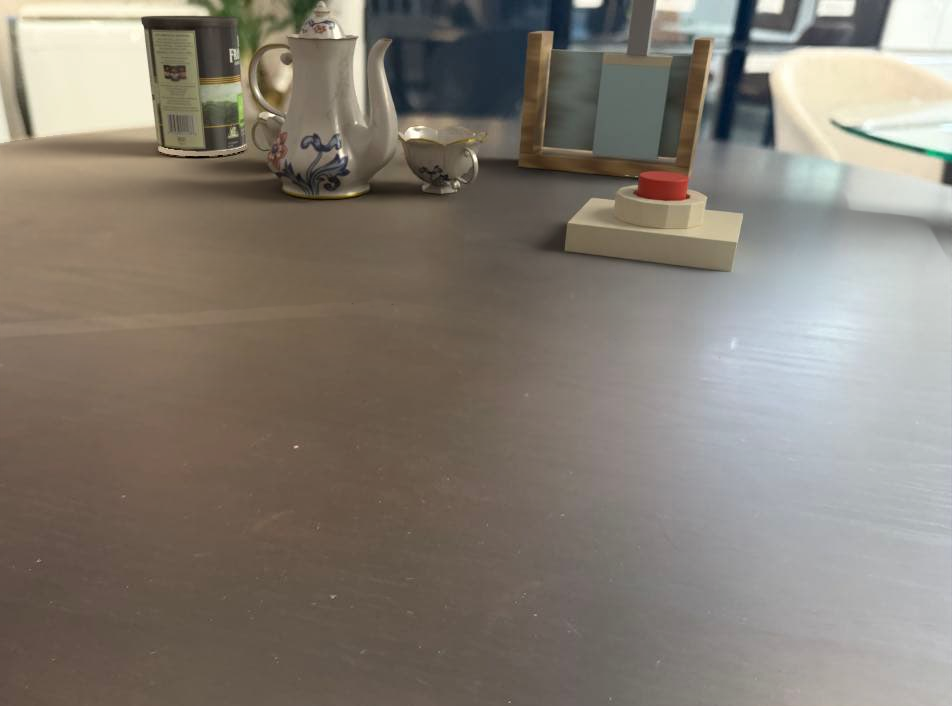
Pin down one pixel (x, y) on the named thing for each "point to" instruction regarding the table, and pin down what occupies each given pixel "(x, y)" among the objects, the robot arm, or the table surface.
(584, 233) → the button box
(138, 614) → the table surface
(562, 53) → the window frame
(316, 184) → the chinaware
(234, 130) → the coffee can
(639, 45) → the blue-grey flat panel
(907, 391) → the table surface
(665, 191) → the button
